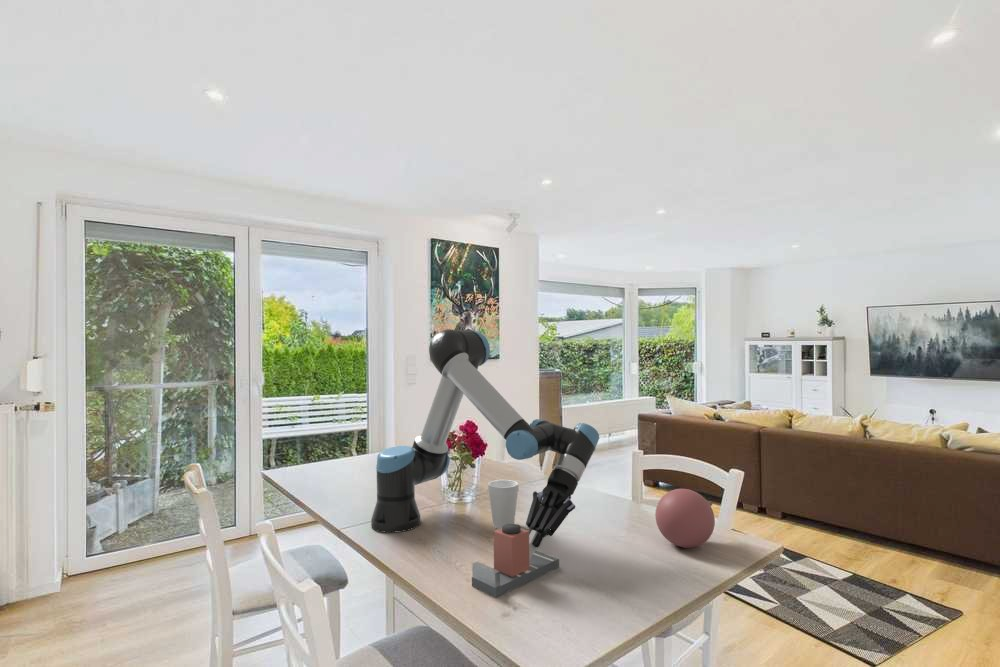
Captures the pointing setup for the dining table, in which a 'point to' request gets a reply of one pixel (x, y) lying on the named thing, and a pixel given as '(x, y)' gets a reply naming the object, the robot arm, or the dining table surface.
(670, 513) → the balloon
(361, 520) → the dining table surface
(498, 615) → the dining table surface
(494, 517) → the foam cup
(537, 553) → the track
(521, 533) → the plug
